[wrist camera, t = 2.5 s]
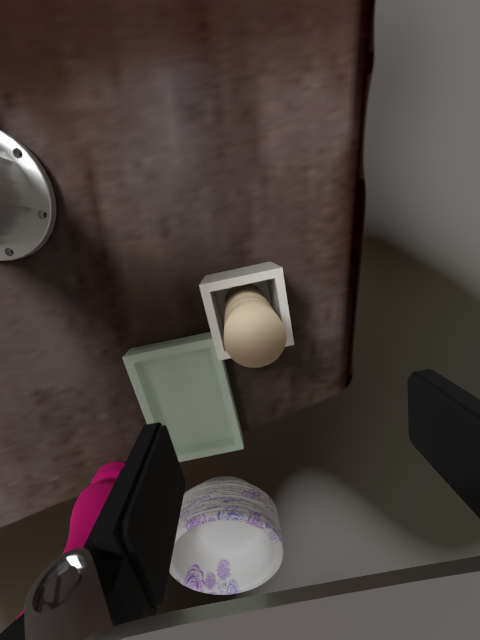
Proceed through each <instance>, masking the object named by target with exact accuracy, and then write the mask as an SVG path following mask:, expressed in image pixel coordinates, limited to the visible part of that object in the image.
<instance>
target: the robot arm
mask: <svg viewBox="0 0 480 640" xmlns="http://www.w3.org/2000/svg"><path fill="white" fill-rule="evenodd" d="M56 210H57V209H56V199H55V194H54V191H53V187H52V184H51V182H50V179H49V177H48V175H47V173H46V171H45V169H44V168H43V166H42V165H41V164H40V162H39V161H38V159H37V158H36V157H35V156H34V155H33V154H32V152H31V151H30V150H29V149H28V148H27V147H26V146H24V145H23V144H22V143H21V142H19V141H18V140H17V139H16V138H14V137H12V136H10V135H9V134H7V133H5V132H3V131H1V130H0V261H7V260H16V259H22V258H24V257H27V256H29V255H32V254H33V253H35V252H36V251H38V250H39V249H40V248H41V247H42V246H43V245H44V244H45V243H46V242H47V241H48V239H49V237H50V235H51V233H52V231H53V228H54V225H55V221H56ZM46 214H47V217H46ZM408 418H409V437H410V440H411V442H412V444H413V445H414V446H415V448H416V449H417V450H418V451H419V452H420V453H421V454H422V455H423V456H424V458H425V459H426V460H427V461H428V462H429V463H430V464H431V465H432V466H433V467H434V469H436V471H437V472H438V473H439V474H440V475H441V476H442V477H443V479H444V480H445V481H446V482H447V483H448V484H449V485H450V486H451V487H452V488H453V490H454V491H456V493H457V494H458V495H459V496H460V497H461V498H462V500H463V501H464V502H465V503H466V504H467V505H468V506H469V507H470V508H471V509H472V511H473V512H474V513H475V514H476V515H477V516H478V517H479V518H480V399H478V398H476V397H475V396H473V395H472V394H470V393H468V392H467V391H465V390H464V389H462V388H461V387H459V386H457V385H456V384H454V383H453V382H451V381H449V380H448V379H446V378H445V377H443V376H441V375H440V374H438V373H437V372H435V371H433V370H431V369H425V370H420V371H415V372H413V373H412V374H411V377H409V378H408ZM184 491H185V479H184V476H183V473H182V470H181V467H180V464H179V461H178V458H177V455H176V452H175V449H174V446H173V443H172V440H171V438H170V435H169V432H168V429H167V426H166V425H162V424H161V423H160V422H157V423H152V424H147V425H144V427H143V428H142V430H141V432H140V435H139V437H138V439H137V441H136V443H135V445H134V447H133V449H132V451H131V453H130V455H129V457H128V459H127V462H126V464H125V466H124V467H123V468H122V470H121V471H120V473H119V475H118V477H117V479H116V481H115V483H114V485H113V487H112V489H111V491H110V493H109V495H108V497H107V499H106V501H105V504H104V506H103V508H102V510H101V512H100V514H99V516H98V518H97V520H96V522H95V524H94V526H93V528H92V530H91V532H90V534H89V536H88V538H87V540H86V542H85V544H84V547H83V548H76V549H73V550H70V551H68V552H66V553H64V554H63V555H61V556H60V557H58V558H57V559H55V560H54V561H53V562H52V563H51V564H50V565H49V566H48V567H47V568H46V569H45V570H44V571H43V572H42V574H41V575H40V576H39V577H38V578H37V580H36V581H35V583H34V585H33V586H32V588H31V589H30V591H29V594H28V596H27V599H26V601H25V609H24V613H23V614H22V615H21V616H20V617H18V618H17V619H16V620H15V621H14V622H13V623H12V624H11V625H10V626H8V627H7V628H6V629H5V630H4V631H3V632H2V633H0V640H480V556H477V557H471V558H464V559H459V560H453V561H447V562H441V563H435V564H430V565H424V566H418V567H412V568H406V569H400V570H395V571H389V572H384V573H379V574H372V575H366V576H361V577H355V578H350V579H344V580H338V581H333V582H327V583H322V584H316V585H310V586H305V587H299V588H294V589H289V590H283V591H278V592H272V593H267V594H261V595H256V596H250V597H245V598H240V599H234V600H229V601H224V602H218V603H213V604H208V605H202V606H198V607H193V608H188V609H183V610H178V611H173V612H169V613H164V614H159V615H156V611H157V606H158V605H161V604H162V603H163V600H164V596H165V591H166V585H167V581H168V575H169V570H170V565H171V559H172V554H173V549H174V544H175V538H176V533H177V528H178V523H179V517H180V512H181V507H182V501H183V496H184Z"/></svg>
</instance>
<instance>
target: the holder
mask: <svg viewBox="0 0 480 640" xmlns="http://www.w3.org/2000/svg"><path fill="white" fill-rule="evenodd" d="M250 283H251V284H253V285H255V286H256V287H258V288H259V289H260V291H261V292H262V293H263V295H264V296H265V298H266V299H267V301H268V302H269V304H270V305H271V307H272V308H273V310H274V311H275V313H276V314H277V315H278V317H279V318H280V320H281V321H282V323H283V325H284V327H285V330H286V336H287V338H286V345H285V347H286V346H291V345H294V340H293V333H292V327H291V320H290V314H289V307H288V301H287V295H286V288H285V282H284V275H283V269H282V267H280V266H278V265H276V264H274V263H272V262H266V263H261V264H257V265H252V266H247V267H243V268H238V269H233V270H229V271H224V272H219V273H214V274H210V275H205V277H204V278H203V280H202V281H201V283H200V284H199V287H200V291H201V295H202V299H203V303H204V307H205V311H206V315H207V319H208V323H209V327H210V331H211V335H212V339H213V342H214V346H215V350H216V354H217V358H218V361H219V360H224V359H229V358H231V357H230V356H229V355H228V353H227V351H226V349H225V346H224V318H225V298H226V295H227V293H228V291H229V290H230V289H231V288H232V287H235V286H240V285H245V284H250Z"/></svg>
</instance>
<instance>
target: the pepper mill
mask: <svg viewBox="0 0 480 640" xmlns="http://www.w3.org/2000/svg"><path fill="white" fill-rule="evenodd" d="M125 464H126V463H123V462H110V463H107V464H105V465H103V466H102V467H101V468H100V469H99V470H98V471H97V473H96V475H95V477H94V478H93V480H92V482H91V485H89V486H88V487H87V488H85V489H84V490H83V491H82V493H81V494H80V495H79V497H78V499H77V501H76V503H75V505H74V508H73V512H72V516H71V522H70V532H69V538H68V542H67V545H66V548H65V550H64V552H63V554H64V553H66V552H68V551H70V550H73V549H76V548H83V547H84V544H85V542H86V540H87V538H88V536H89V534H90V532H91V530H92V528H93V526H94V524H95V522H96V520H97V518H98V516H99V514H100V512H101V510H102V508H103V506H104V504H105V501H106V499H107V497H108V495H109V493H110V491H111V489H112V487H113V485H114V483H115V481H116V479H117V477H118V475H119V473H120V471H121V470H122V468H123V467H124V466H125ZM63 554H62V555H63ZM23 613H24V610H23V611H22V612H21V614H20V615H19V616H18V617H20V616H21V615H22V614H23ZM18 617H17V618H18ZM17 618H16V619H17Z"/></svg>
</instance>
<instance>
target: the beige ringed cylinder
mask: <svg viewBox="0 0 480 640" xmlns="http://www.w3.org/2000/svg"><path fill="white" fill-rule="evenodd" d="M286 338H287V336H286V330H285V327H284V325H283V323H282V321H281V320H280V318H279V317H278V315H277V314H276V313H275V311H274V310H273V308H272V307H271V305H270V304H269V302H268V301H267V299H266V298H265V296H264V295H263V293H262V292H261V291H260V289H259V288H258V287H256V286H255V285H253V284H251V283H250V284H245V285H240V286H235V287H232V288H231V289H230V290H229V291H228V293H227V295H226V298H225V318H224V346H225V349H226V351H227V353H228V355H229V356H230V357H231V358H232V359H233V360H234V361H235V362H236V363H238V364H240V365H242V366H245V367H250V368H258V367H263V366H266V365H269V364H270V363H272V362H274V361H275V360H276V359H277V358H278V357H279V356H280V355H281V353H282V352H283V350H284V348H285V345H286Z"/></svg>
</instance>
